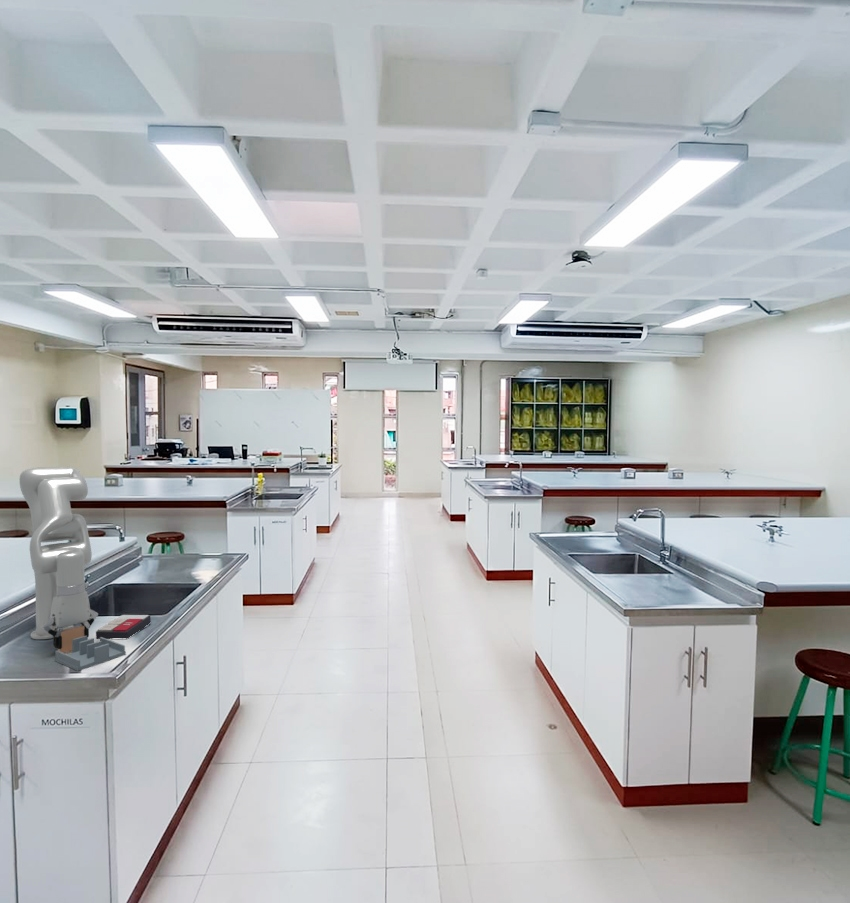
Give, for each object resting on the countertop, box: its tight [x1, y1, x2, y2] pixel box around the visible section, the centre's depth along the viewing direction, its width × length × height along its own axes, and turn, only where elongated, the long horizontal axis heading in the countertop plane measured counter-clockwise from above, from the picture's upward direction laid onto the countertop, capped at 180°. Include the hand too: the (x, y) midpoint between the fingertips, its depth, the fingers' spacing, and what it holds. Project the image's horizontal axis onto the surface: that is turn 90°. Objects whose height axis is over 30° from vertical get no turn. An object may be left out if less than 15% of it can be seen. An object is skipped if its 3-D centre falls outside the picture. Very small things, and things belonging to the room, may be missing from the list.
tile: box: [57, 624, 85, 654], centre depth 168 cm, size 2×7×7 cm, turn 149°
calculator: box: [95, 614, 152, 640], centre depth 185 cm, size 11×4×15 cm
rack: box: [54, 636, 127, 672], centre depth 162 cm, size 14×14×5 cm
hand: (71, 643), depth 168 cm, fingers closed on tile, 7 cm apart
